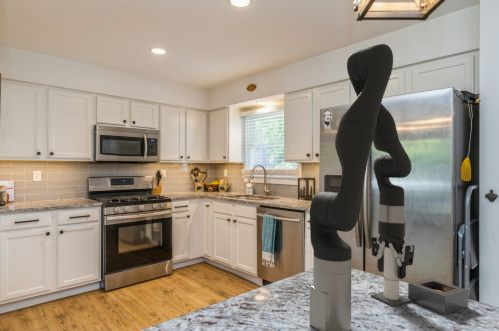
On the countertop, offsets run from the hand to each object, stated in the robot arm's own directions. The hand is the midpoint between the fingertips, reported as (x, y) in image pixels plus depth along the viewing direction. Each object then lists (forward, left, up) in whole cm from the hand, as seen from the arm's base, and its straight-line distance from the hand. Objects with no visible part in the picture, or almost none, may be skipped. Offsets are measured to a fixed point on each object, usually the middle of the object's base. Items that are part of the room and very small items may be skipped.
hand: (391, 274), depth 95 cm
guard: (+10, -8, -7) cm, 15 cm away
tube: (0, 0, -7) cm, 7 cm away
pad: (0, 0, -7) cm, 7 cm away
